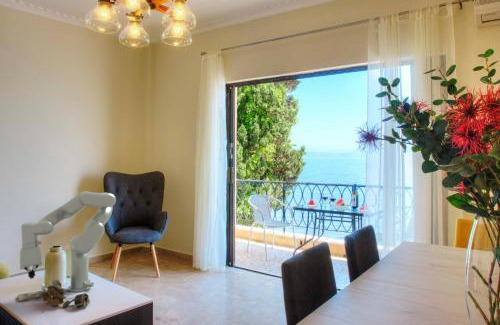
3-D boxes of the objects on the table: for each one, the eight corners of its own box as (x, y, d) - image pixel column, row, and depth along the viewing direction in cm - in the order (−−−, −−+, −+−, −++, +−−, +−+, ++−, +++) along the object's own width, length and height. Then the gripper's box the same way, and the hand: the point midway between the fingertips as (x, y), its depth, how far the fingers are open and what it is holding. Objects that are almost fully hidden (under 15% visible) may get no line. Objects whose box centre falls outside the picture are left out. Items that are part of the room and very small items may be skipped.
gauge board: (19, 302, 189) (19, 291, 189) (17, 297, 197) (17, 286, 197) (61, 294, 201) (61, 284, 201) (58, 289, 209) (58, 279, 209)
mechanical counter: (77, 302, 176) (93, 291, 185) (58, 296, 181) (75, 285, 190) (78, 314, 178) (94, 303, 187) (60, 308, 183) (76, 297, 192)
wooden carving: (38, 304, 187) (38, 285, 187) (45, 301, 191) (46, 282, 191) (61, 309, 181) (62, 289, 181) (69, 305, 185) (69, 286, 185)
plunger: (43, 295, 195) (43, 287, 195) (41, 291, 201) (41, 283, 201) (45, 295, 196) (45, 287, 196) (43, 291, 202) (43, 283, 202)
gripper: (44, 241, 203) (46, 273, 204) (13, 246, 195) (15, 279, 195) (46, 243, 197) (48, 276, 198) (14, 248, 189) (16, 283, 189)
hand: (31, 277), depth 196 cm, fingers closed
